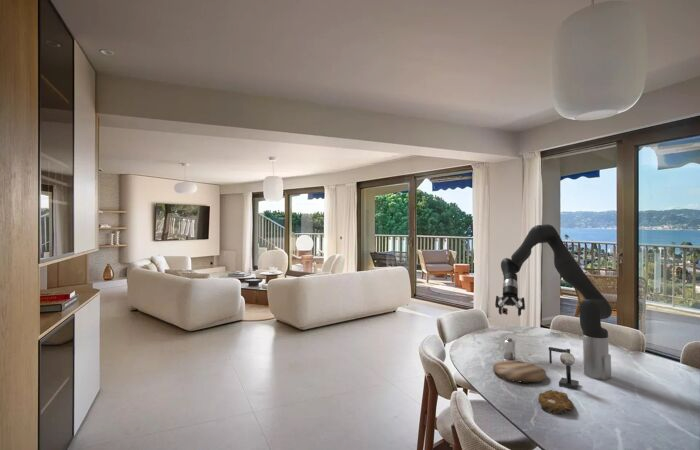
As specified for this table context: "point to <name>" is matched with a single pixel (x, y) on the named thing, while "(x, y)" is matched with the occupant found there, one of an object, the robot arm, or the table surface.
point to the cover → (509, 350)
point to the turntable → (519, 371)
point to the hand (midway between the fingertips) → (509, 314)
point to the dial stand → (568, 361)
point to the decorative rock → (555, 402)
